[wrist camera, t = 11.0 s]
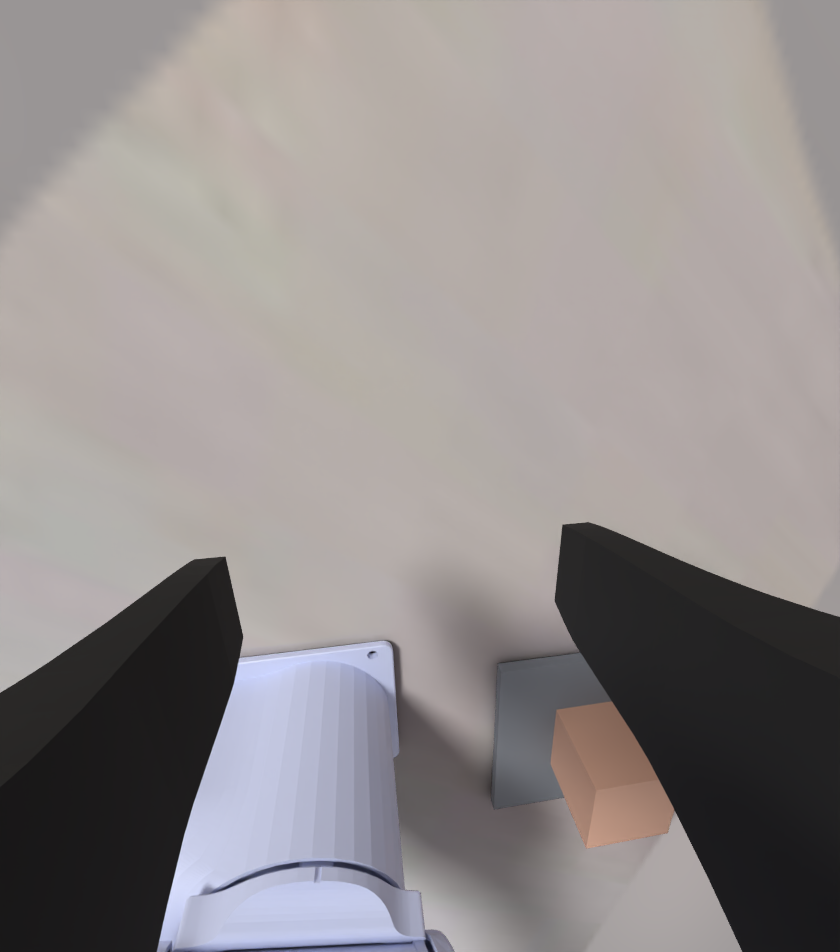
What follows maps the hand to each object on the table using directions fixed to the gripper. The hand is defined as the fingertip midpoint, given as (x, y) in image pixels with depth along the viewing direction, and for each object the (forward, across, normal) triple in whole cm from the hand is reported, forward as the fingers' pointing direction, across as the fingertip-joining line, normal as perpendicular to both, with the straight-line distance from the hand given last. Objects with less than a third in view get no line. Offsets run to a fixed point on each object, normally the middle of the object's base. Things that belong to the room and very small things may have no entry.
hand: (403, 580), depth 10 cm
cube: (+9, -11, +18) cm, 23 cm away
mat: (+9, -11, +18) cm, 23 cm away
